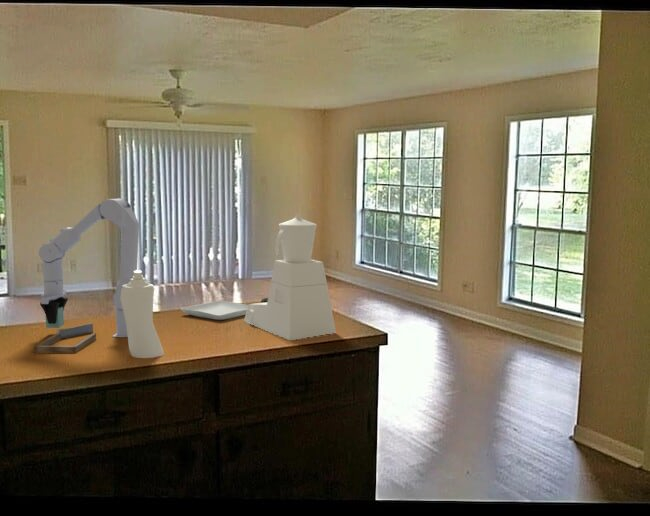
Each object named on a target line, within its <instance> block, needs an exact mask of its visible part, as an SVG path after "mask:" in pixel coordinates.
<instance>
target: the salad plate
mask: <svg viewBox="0 0 650 516" xmlns="http://www.w3.org/2000/svg"><path fill="white" fill-rule="evenodd" d="M247 308H248V304H244V303H239V302H238V303H237V302H233V301H231V302H230V301H225V300H216V301H210V302H204V303H200V304H194V305H190V306H185V307H181V308H180V310H181V311H182V312H184V313H185V314H186V315H189V316H193V317H198V318H204V319H208V320H215V321H223V320H228V319H233V318H238V317H242V316H243V317H244V316H245V315H246V311H247Z"/></svg>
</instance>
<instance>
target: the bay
mask: <svg viewBox="0 0 650 516" xmlns="http://www.w3.org/2000/svg"><path fill="white" fill-rule="evenodd" d="M61 340H62V339H61V333H57V332H56V333H55V334H53V335H51V336H49V337H48V338H46V339H45V340H43V341H41V342H40V343H38V344H35V345H34V346H33V350H34V351H33V353H34V354H35V353H37V354H41V353H42V354H43V353H44V354H45V353H46V354H47V353H49V354H52V353H53V354H54V353H55V354H57V353H58V354H60V353H64V354H67V353H70V354H71V353H75V354H77V353H78V352H79V350H80V351H81V350H82V348H83V349H84V348H86V347H87V346H89V345H90V344H92V343H93V342H95V341H96V340H97V333H94V332H92V333H90V335H88V336H87V337H85V338H84V339H82V340H80V341H79V342H78V343H76V344H75V345H54V344H56V343H57V342H60V341H61ZM88 344H89V345H88ZM85 346H86V347H85Z"/></svg>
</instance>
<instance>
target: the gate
mask: <svg viewBox="0 0 650 516" xmlns="http://www.w3.org/2000/svg"><path fill="white" fill-rule="evenodd" d="M91 332H92V333H94V324H93V323H92V322H91V323H86V324H84V323H83V324H80V325H75V326H71V327H66V328H61V329H56V334H57V333H61V340H63V339H67V338H73V337H77V336H83V335H87V334H92V333H91ZM82 334H83V335H82Z"/></svg>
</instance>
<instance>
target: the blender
mask: <svg viewBox="0 0 650 516" xmlns="http://www.w3.org/2000/svg"><path fill="white" fill-rule="evenodd" d="M317 227H318V225H317V223H314V222H312V221H309V220H307V219H304V218H302V216H301V214H300V213H296V214H295V216H294V218H292V219H289V220H287V221H283V222H280V223H279V224H278V229H279V231H278V233H277V235H276V238H275V242H274V250H273V251H274V255H275V256H276V257H279V253H280V252H279V251H280V247H281V250H282V257H283V259H275V260H274V264H273V267H272V268H273V269H272V274H271V281H270V284H269V285H270V286H269V292H268V297H267V298H268V302H265V303H261V302H257V303H256V302H255V303H248V304H247V305H248V308H247V311H246V315H244V319H243V323H246V324H247V325H250V324H251V326H253V325H254V326H253V327H255V328H257V327H258V329H259V328H261V329H260V330H262V329H263V330H262V331H264V330H265V332H267V331H268V333H270V334H272V333H273V334H272V335H275V336H277V335H278V336H277V337H280V338H282V337H283V339H284V340H287V341H295V340H296V339H297V340H303V339H308V338H307V337H310V338H314V337H313V336H317V337H320V336H319V335H324V336H326V335H325V334H331V335H333V334H332V333H336V334H337V331H336V325H335V319H334V313H333V307H332V302H331V297H330V292H329V286H328V281H327V277H326V272H325V266H324V262H323V261H320V260H316V259H312V256H313V248H314V243H315V242H314V241H315V236H316V229H317ZM302 338H303V339H302Z"/></svg>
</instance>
